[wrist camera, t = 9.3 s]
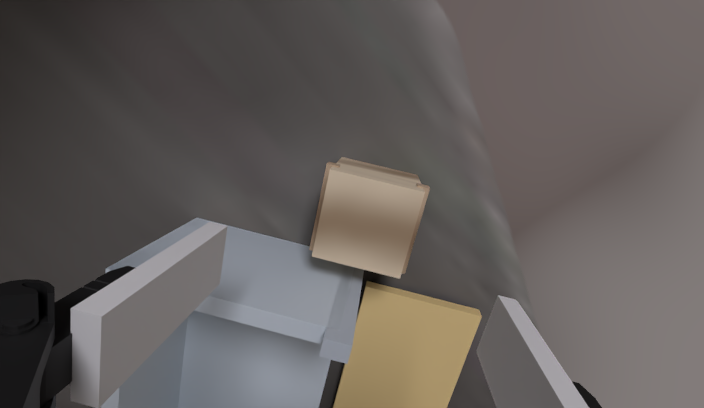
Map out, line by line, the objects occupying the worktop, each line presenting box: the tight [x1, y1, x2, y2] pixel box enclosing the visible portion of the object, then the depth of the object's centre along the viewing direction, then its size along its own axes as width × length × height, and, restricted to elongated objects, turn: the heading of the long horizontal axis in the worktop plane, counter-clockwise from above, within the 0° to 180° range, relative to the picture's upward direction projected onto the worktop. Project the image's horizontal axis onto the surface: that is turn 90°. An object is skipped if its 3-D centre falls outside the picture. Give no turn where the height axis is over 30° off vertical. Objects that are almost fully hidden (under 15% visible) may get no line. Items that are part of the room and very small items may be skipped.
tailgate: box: [333, 281, 482, 408], centre depth 31 cm, size 19×1×10 cm
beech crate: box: [309, 157, 430, 279], centre depth 25 cm, size 6×7×6 cm
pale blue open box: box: [101, 218, 364, 408], centre depth 27 cm, size 22×15×11 cm
